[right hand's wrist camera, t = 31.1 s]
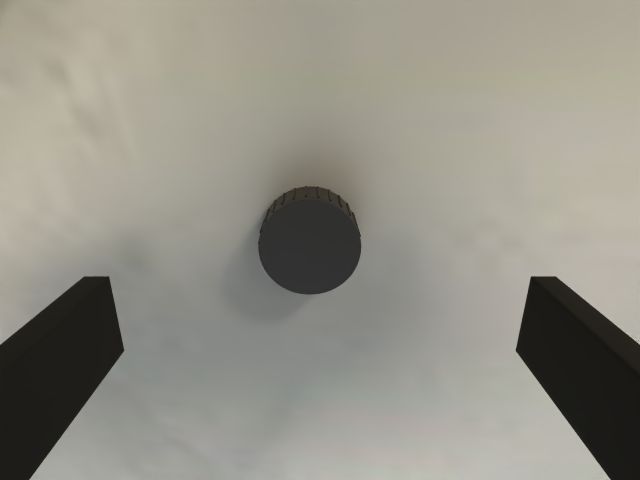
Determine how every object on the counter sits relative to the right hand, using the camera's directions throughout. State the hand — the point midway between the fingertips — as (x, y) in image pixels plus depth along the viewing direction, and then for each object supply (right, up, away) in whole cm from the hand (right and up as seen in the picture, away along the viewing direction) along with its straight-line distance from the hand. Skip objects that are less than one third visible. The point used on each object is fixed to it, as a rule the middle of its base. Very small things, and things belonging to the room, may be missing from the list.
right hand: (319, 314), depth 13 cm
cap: (0, +2, +6) cm, 6 cm away
